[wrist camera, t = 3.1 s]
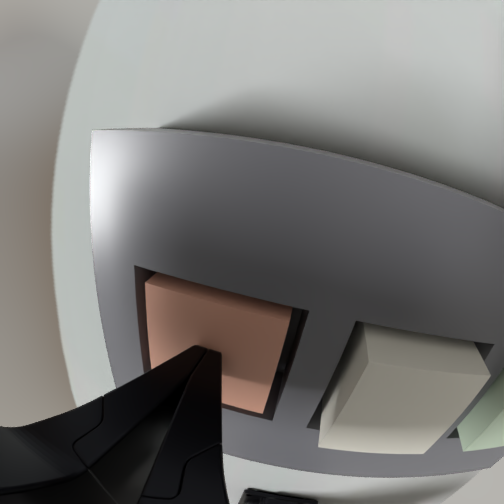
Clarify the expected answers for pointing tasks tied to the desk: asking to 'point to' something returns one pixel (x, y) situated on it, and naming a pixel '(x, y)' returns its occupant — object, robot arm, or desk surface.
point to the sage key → (485, 420)
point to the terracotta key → (218, 333)
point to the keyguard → (296, 271)
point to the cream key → (398, 390)
